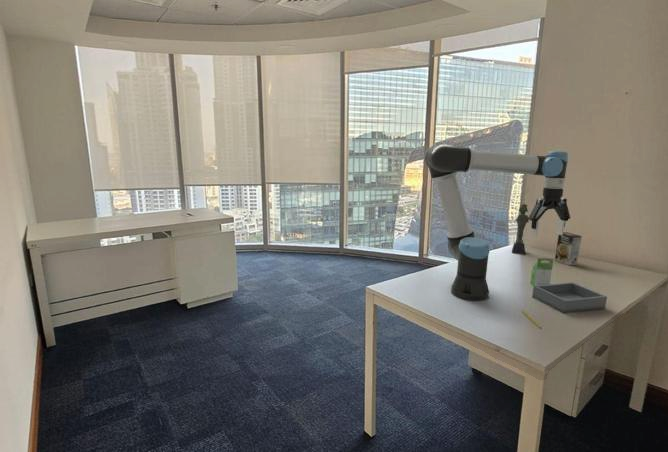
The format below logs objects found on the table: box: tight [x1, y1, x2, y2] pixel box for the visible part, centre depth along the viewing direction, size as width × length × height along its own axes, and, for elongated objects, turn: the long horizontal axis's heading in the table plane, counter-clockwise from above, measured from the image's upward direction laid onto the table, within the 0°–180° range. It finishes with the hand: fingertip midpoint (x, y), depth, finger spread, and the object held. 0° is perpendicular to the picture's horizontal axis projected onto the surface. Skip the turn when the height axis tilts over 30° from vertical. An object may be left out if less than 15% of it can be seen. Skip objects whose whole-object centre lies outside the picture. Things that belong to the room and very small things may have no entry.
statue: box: [511, 203, 530, 255], centre depth 223 cm, size 7×8×30 cm
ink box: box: [529, 257, 554, 287], centre depth 171 cm, size 7×4×13 cm, turn 84°
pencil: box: [521, 310, 542, 329], centre depth 138 cm, size 1×14×1 cm, turn 178°
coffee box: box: [554, 231, 583, 266], centre depth 206 cm, size 9×6×16 cm
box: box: [531, 281, 608, 314], centre depth 153 cm, size 20×16×5 cm
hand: (547, 235), depth 168 cm, fingers open, 13 cm apart
